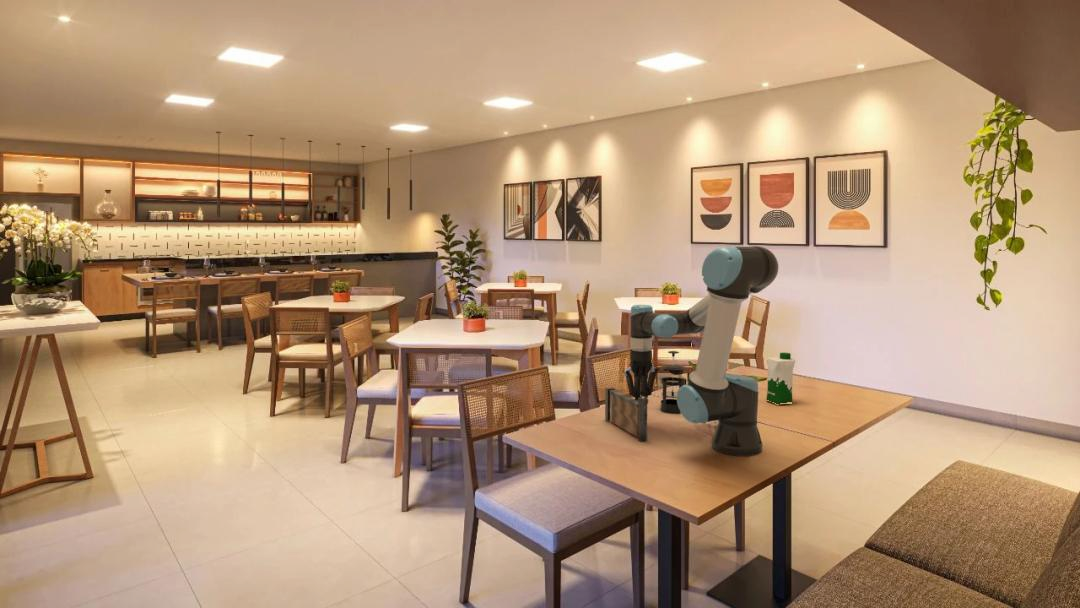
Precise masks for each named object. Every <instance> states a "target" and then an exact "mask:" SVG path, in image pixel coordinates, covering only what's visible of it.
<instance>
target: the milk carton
mask: <svg viewBox="0 0 1080 608" xmlns="http://www.w3.org/2000/svg"><path fill="white" fill-rule="evenodd" d="M791 357H792V355H791V353H790V352H780V353H779V356H772V357H766V363H767V393H766V400H769V401H771V402H774V403H776V404H780V403H787V402H792V403H793V375H794V374H793V373H794V367H795V364H796V359H792V358H791ZM766 400H765V401H766Z"/></svg>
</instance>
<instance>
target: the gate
mask: <svg viewBox="0 0 1080 608" xmlns="http://www.w3.org/2000/svg"><path fill="white" fill-rule="evenodd" d="M610 421H611V422H612V423H613V424H615V425H617V426H618V427H620V428H621V429H623V430H624V431H626V432H628V433H629V434H631V435H633V436H635V437H636V438H638V422H639V404H638V401H637V400H635V398H634V397H632V396H630V395H628V394H626V393H623V392H621V391H619V390H617V389H615V390H610Z"/></svg>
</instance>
